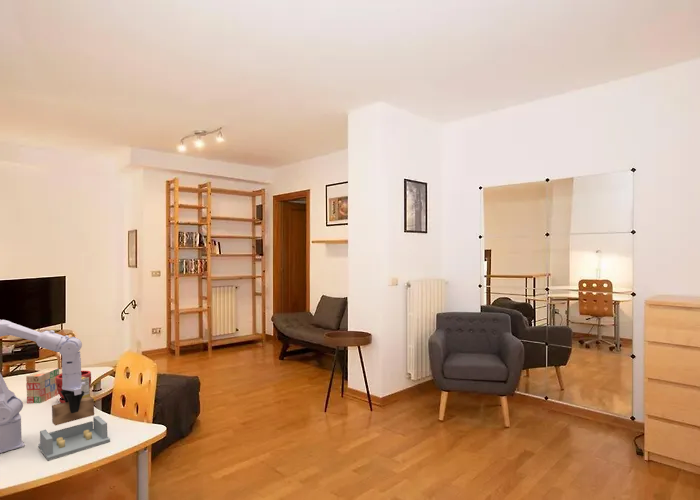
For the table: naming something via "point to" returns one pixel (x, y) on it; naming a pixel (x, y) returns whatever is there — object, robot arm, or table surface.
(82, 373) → the plant pot
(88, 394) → the candy box
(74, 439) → the peg stand
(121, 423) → the table surface
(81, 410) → the board
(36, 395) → the stack of blocks
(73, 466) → the table surface
